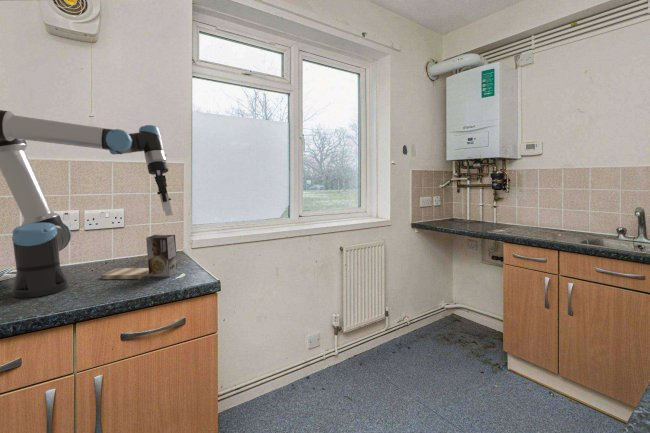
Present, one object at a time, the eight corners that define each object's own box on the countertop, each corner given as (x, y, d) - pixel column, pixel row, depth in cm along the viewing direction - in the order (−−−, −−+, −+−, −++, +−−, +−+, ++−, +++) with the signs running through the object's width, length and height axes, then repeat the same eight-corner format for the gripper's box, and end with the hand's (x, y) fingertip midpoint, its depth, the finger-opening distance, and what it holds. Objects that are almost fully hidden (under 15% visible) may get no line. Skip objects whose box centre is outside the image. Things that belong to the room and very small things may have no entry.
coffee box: (178, 272, 141) (176, 234, 139) (169, 277, 135) (167, 237, 133) (157, 271, 142) (155, 234, 140) (148, 276, 136) (145, 237, 134)
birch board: (101, 279, 132) (100, 275, 132) (116, 271, 142) (116, 268, 142) (139, 278, 133) (139, 275, 132) (152, 271, 143) (151, 268, 142)
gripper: (164, 152, 129) (176, 206, 128) (168, 169, 152) (179, 215, 151) (142, 155, 126) (155, 209, 125) (150, 172, 149) (161, 219, 148)
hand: (168, 213), depth 138 cm, fingers open, 13 cm apart
